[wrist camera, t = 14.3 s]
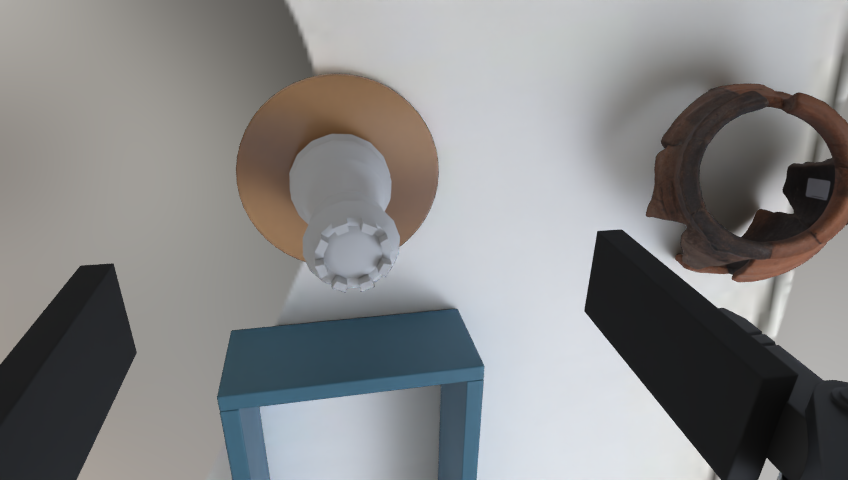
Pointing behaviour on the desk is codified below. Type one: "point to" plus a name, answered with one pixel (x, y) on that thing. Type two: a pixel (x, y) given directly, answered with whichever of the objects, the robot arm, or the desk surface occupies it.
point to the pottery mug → (769, 232)
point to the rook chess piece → (345, 211)
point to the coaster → (322, 115)
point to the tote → (353, 378)
